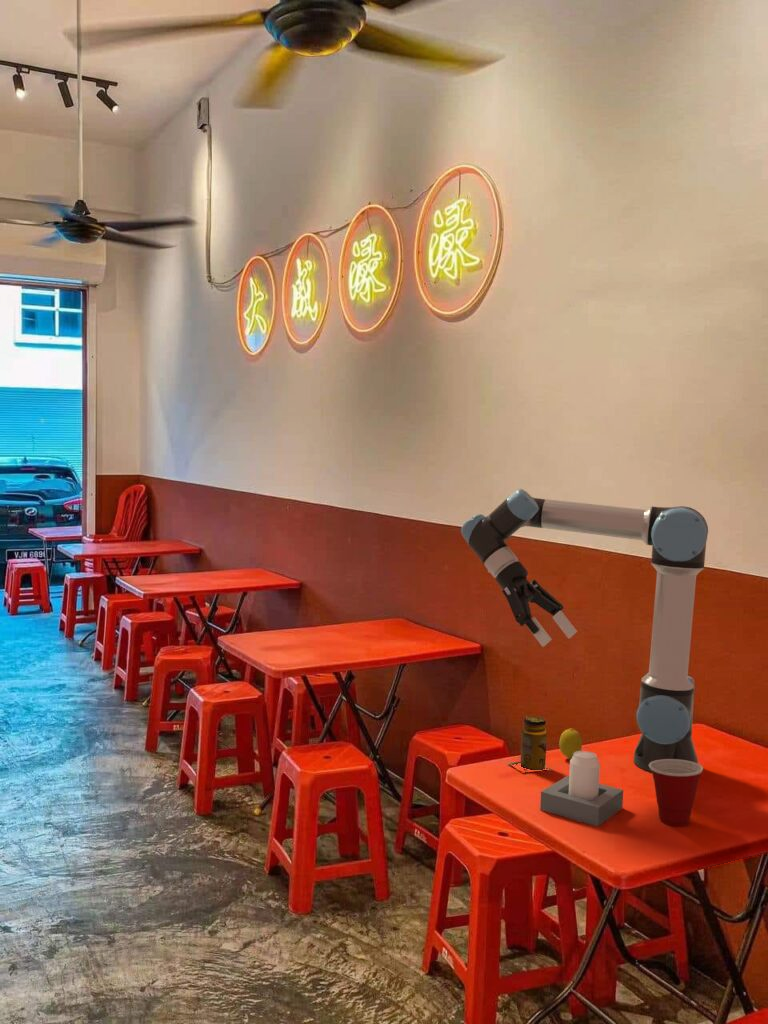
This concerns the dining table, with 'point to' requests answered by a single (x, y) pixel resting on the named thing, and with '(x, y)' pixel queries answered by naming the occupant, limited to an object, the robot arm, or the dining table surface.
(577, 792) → the beverage can
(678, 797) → the plastic cup
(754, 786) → the dining table surface
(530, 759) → the condiment
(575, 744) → the lemon
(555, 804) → the square frame
